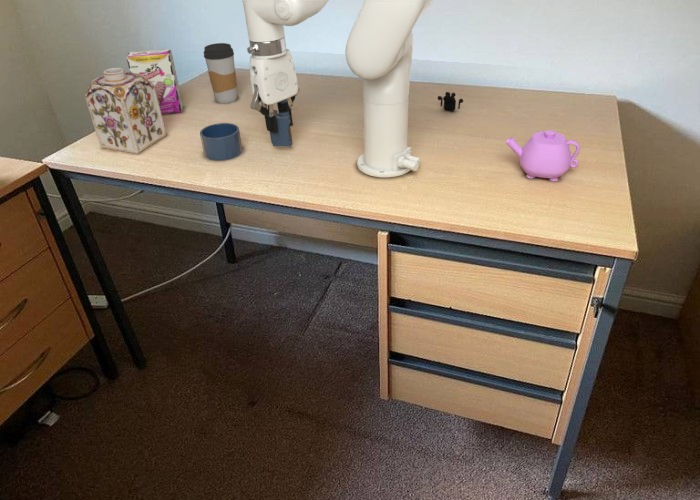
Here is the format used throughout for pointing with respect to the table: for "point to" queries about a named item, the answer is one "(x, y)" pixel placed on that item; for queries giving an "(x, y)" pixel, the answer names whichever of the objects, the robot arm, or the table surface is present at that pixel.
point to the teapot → (545, 154)
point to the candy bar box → (159, 76)
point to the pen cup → (221, 141)
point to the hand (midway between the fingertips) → (280, 127)
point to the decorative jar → (125, 111)
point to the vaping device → (282, 126)
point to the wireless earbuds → (449, 101)
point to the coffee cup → (221, 71)
